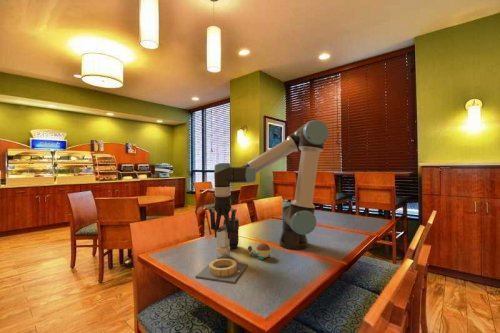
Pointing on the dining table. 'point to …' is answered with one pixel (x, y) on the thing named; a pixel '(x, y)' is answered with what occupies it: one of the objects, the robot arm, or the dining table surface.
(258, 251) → the figurine
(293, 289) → the dining table surface
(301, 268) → the dining table surface
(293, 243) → the robot arm
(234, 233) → the camera lens
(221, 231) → the white pillar stand
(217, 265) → the mount
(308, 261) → the dining table surface
